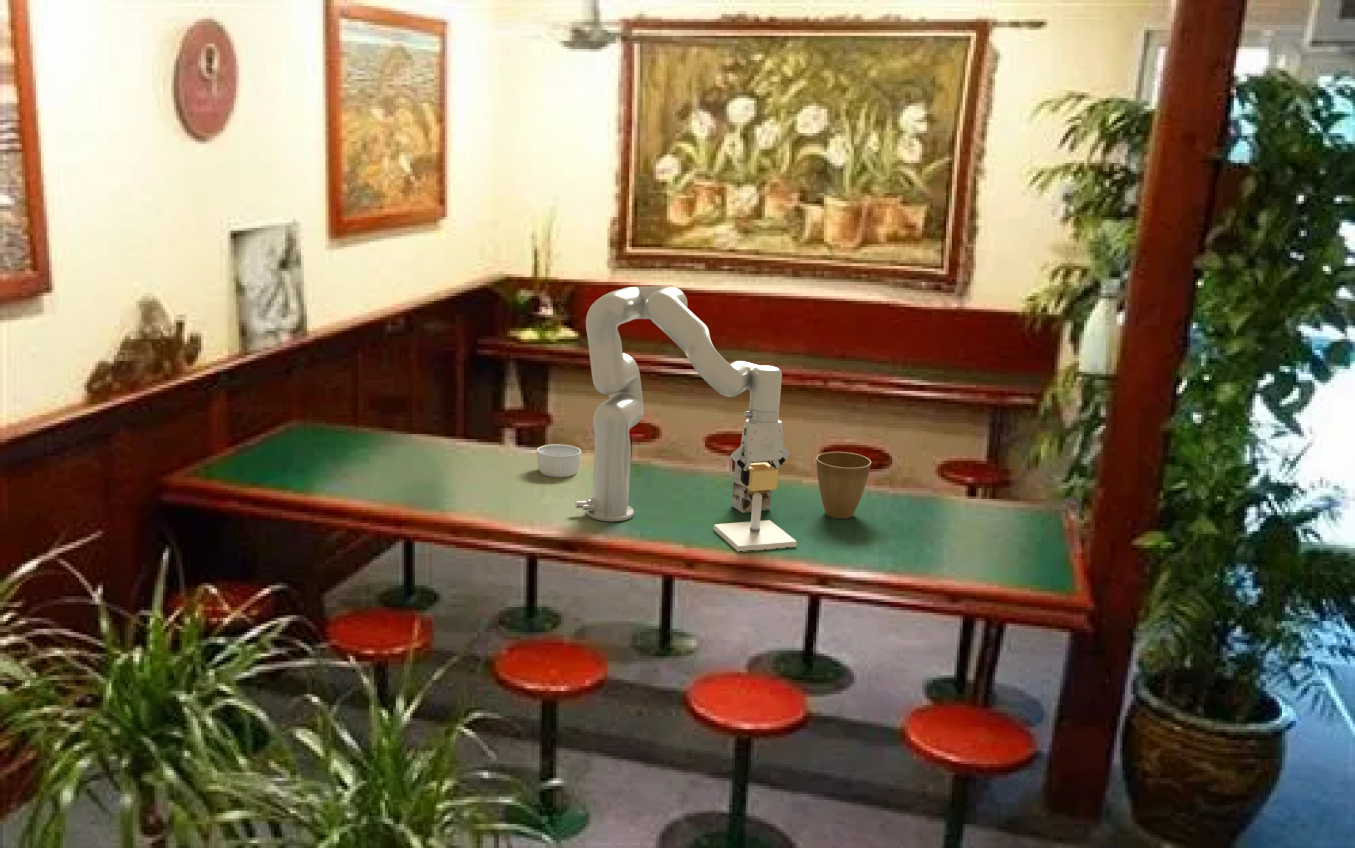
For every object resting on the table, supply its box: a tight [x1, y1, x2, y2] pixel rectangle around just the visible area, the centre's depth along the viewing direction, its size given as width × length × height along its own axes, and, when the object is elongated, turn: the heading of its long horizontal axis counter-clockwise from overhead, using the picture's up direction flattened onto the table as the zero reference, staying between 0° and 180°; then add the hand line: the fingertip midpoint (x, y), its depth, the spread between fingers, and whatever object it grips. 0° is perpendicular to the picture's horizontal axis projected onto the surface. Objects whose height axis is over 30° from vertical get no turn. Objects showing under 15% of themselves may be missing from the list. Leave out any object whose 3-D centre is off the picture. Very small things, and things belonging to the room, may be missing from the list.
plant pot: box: [815, 451, 872, 520], centre depth 305 cm, size 15×15×16 cm
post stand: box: [713, 493, 797, 553], centre depth 284 cm, size 16×16×12 cm
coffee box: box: [731, 455, 772, 514], centre depth 306 cm, size 9×6×16 cm
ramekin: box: [536, 443, 582, 478], centre depth 330 cm, size 13×13×7 cm
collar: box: [740, 462, 779, 491], centre depth 281 cm, size 7×7×5 cm
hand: (758, 482), depth 281 cm, fingers closed on collar, 6 cm apart
